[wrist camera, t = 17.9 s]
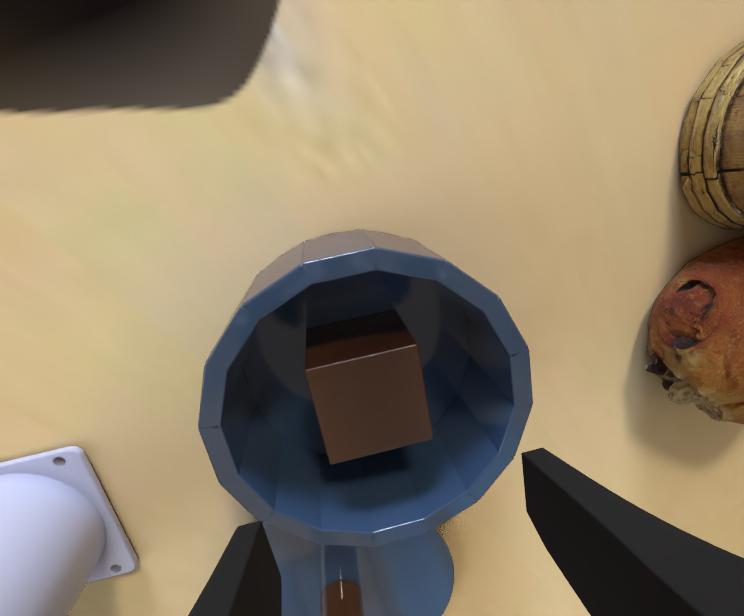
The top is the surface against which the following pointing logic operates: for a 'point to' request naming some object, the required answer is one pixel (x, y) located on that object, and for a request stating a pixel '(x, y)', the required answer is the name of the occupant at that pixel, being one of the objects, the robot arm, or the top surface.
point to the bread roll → (703, 334)
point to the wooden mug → (716, 145)
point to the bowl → (296, 409)
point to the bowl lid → (364, 576)
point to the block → (367, 386)
